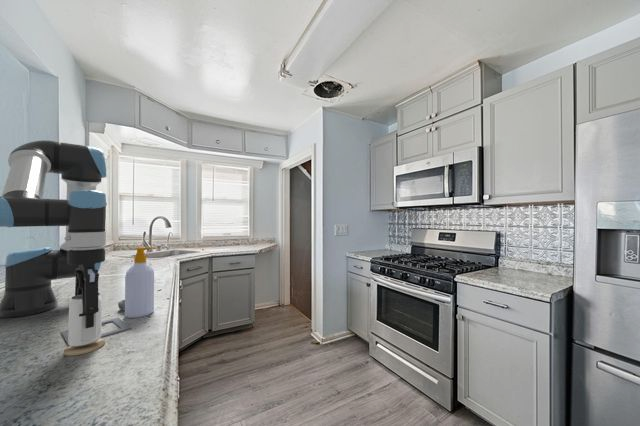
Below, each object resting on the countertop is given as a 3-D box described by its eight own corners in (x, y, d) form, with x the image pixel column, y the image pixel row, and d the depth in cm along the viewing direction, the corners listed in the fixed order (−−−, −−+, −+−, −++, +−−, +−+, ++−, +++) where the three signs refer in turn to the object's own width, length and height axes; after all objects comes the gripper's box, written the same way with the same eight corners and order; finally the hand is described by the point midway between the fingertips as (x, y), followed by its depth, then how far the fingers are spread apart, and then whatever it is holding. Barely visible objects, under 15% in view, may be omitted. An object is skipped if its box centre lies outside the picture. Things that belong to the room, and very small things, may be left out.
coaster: (61, 349, 67) (61, 346, 67) (100, 338, 73) (100, 336, 74) (66, 359, 62) (66, 356, 62) (108, 346, 69) (108, 344, 69)
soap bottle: (151, 316, 90) (152, 248, 91) (120, 319, 88) (121, 249, 88) (159, 308, 99) (160, 246, 99) (130, 311, 96) (131, 246, 97)
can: (81, 348, 64) (82, 299, 65) (61, 346, 65) (62, 298, 66) (107, 337, 70) (108, 292, 71) (88, 335, 72) (89, 291, 72)
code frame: (60, 332, 77) (60, 331, 77) (118, 318, 88) (118, 317, 88) (68, 346, 69) (69, 345, 69) (131, 329, 80) (131, 327, 80)
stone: (144, 303, 106) (145, 288, 106) (154, 306, 101) (154, 291, 101) (115, 310, 98) (116, 294, 98) (124, 314, 93) (124, 298, 93)
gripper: (61, 247, 72) (59, 331, 71) (74, 252, 60) (72, 353, 59) (96, 245, 78) (95, 322, 77) (114, 249, 66) (113, 341, 65)
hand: (85, 335), depth 68 cm, fingers closed on can, 6 cm apart
